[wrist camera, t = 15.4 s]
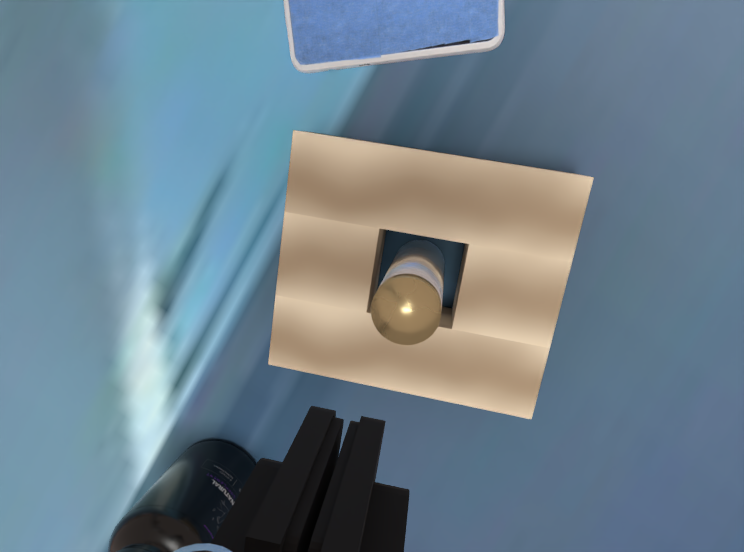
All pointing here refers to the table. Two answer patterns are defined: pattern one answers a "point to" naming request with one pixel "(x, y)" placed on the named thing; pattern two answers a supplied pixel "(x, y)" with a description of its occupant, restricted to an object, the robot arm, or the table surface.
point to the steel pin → (410, 294)
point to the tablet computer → (388, 31)
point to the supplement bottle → (185, 501)
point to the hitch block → (437, 220)
